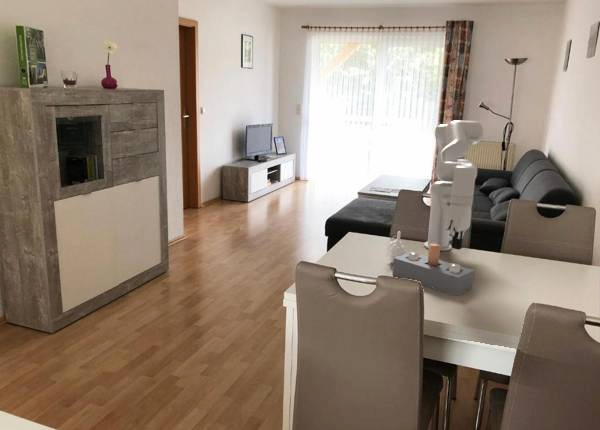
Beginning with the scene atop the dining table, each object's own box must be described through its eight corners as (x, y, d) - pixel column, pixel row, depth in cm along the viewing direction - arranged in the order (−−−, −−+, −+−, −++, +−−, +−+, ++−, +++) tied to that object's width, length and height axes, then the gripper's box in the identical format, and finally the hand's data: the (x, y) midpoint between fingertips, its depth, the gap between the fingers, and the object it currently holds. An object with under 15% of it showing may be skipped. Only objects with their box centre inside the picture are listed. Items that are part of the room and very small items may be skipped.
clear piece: (450, 282, 192) (452, 262, 190) (460, 285, 189) (462, 265, 187) (445, 285, 189) (447, 265, 187) (454, 288, 186) (457, 267, 184)
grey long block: (409, 267, 209) (411, 251, 208) (472, 287, 190) (474, 270, 188) (392, 274, 201) (393, 258, 199) (456, 295, 182) (458, 277, 180)
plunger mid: (431, 262, 197) (433, 243, 195) (440, 265, 194) (442, 245, 192) (425, 264, 194) (427, 245, 192) (434, 267, 191) (436, 247, 189)
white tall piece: (403, 260, 218) (405, 229, 215) (404, 265, 212) (407, 233, 209) (386, 259, 219) (388, 228, 215) (387, 264, 213) (389, 232, 209)
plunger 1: (410, 269, 204) (412, 251, 202) (419, 272, 202) (420, 253, 200) (404, 272, 202) (406, 253, 200) (413, 274, 199) (415, 255, 197)
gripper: (462, 195, 189) (457, 242, 193) (441, 200, 179) (436, 250, 183) (481, 198, 184) (475, 246, 188) (460, 204, 173) (455, 255, 178)
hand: (456, 248), depth 186 cm, fingers closed
